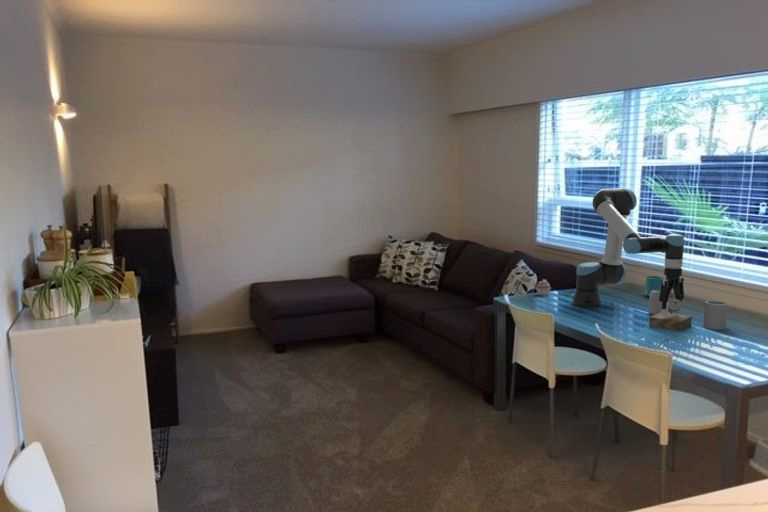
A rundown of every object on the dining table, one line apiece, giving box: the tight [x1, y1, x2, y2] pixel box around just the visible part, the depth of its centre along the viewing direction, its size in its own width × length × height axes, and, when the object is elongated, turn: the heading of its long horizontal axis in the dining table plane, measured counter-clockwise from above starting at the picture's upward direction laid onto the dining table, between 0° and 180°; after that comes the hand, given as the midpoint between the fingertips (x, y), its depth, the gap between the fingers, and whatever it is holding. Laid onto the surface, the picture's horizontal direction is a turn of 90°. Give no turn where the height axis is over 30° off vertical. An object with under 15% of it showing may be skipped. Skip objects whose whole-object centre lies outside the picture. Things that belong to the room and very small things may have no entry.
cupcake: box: [535, 278, 552, 297], centre depth 355 cm, size 9×9×10 cm
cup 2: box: [703, 300, 728, 331], centre depth 279 cm, size 9×9×12 cm
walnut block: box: [648, 312, 693, 332], centre depth 284 cm, size 14×14×5 cm
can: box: [648, 290, 662, 315], centre depth 306 cm, size 8×8×12 cm
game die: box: [661, 294, 683, 314], centre depth 283 cm, size 9×8×10 cm
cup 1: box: [644, 275, 664, 297], centre depth 347 cm, size 9×12×11 cm
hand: (670, 314), depth 283 cm, fingers closed on game die, 8 cm apart
